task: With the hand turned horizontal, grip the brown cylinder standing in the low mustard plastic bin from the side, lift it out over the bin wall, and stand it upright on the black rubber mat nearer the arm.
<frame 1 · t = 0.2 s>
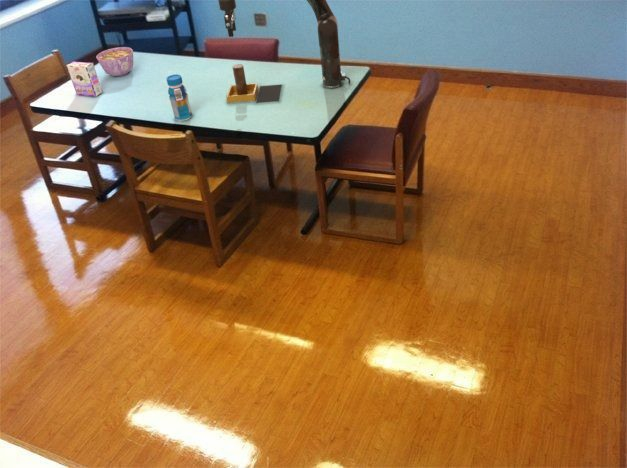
hand: (232, 33, 282), 29 cm above the table, tool pointing down, fingers open, 8 cm apart
mat: (269, 94, 293), on the table
brown cylinder: (243, 95, 294), resting on bin
candy box: (89, 94, 317), on the table
bowl of food: (120, 73, 337), on the table
bin: (243, 96, 294), on the table
beverage bottle: (183, 117, 282), on the table
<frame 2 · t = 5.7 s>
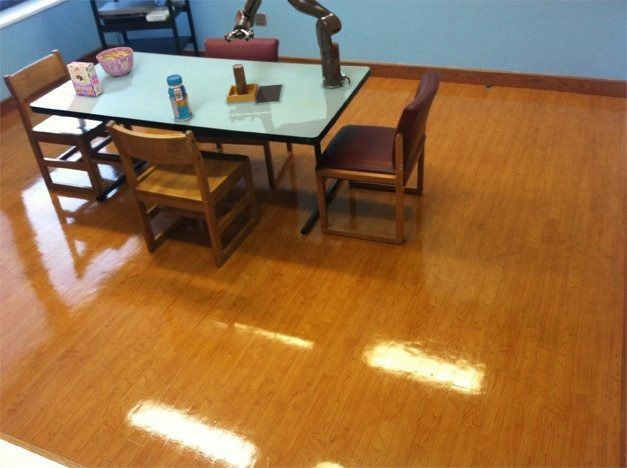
hand: (237, 40, 289), 24 cm above the table, tool horizontal, fingers open, 8 cm apart
nothing on the table moved.
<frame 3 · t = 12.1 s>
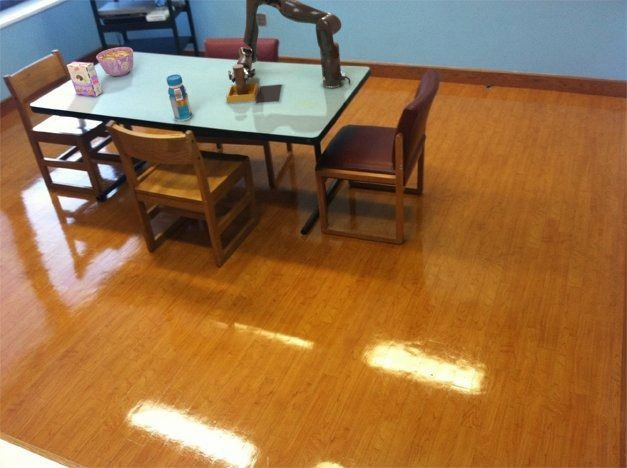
hand: (239, 80, 287), 10 cm above the table, tool horizontal, fingers closed on brown cylinder, 5 cm apart
brown cylinder: (243, 95, 294), point 1 cm above the table, touching bin, gripper
everything else where it was.
when the fingers open (10 cm above the table, at t = 22.0 s): brown cylinder stays where it is, resting on mat.
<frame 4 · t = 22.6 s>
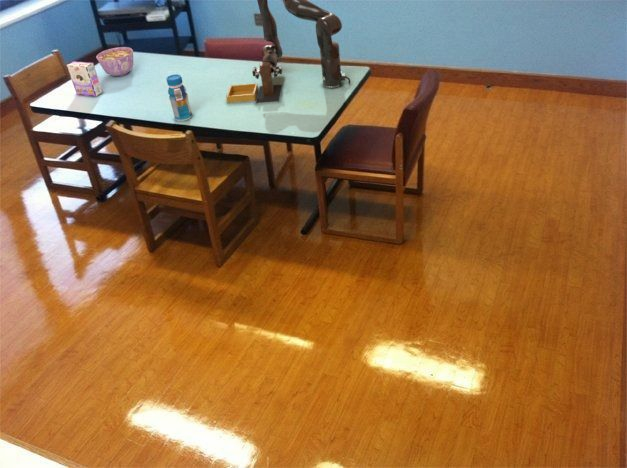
hand: (266, 76, 286), 10 cm above the table, tool horizontal, fingers open, 8 cm apart
brown cylinder: (269, 93, 293), resting on mat
everything else where it was.
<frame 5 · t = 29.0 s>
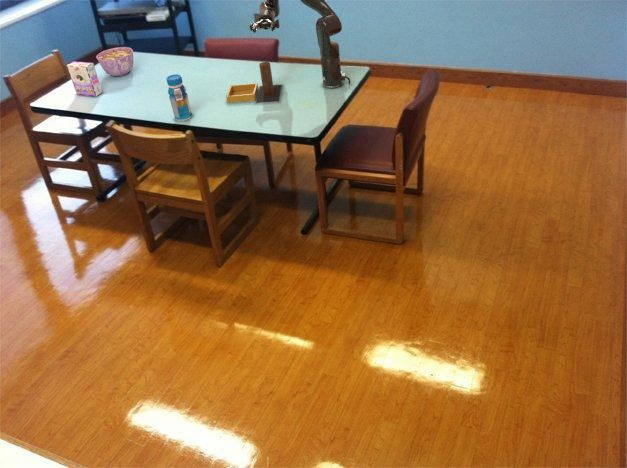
hand: (263, 29, 286), 28 cm above the table, tool horizontal, fingers open, 8 cm apart
nothing on the table moved.
at the end: brown cylinder inside the target area on the mat (0.1 cm from its centre), point 0.5 cm above the mat's base; brown cylinder tilted 0°; the gripper is holding nothing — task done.
